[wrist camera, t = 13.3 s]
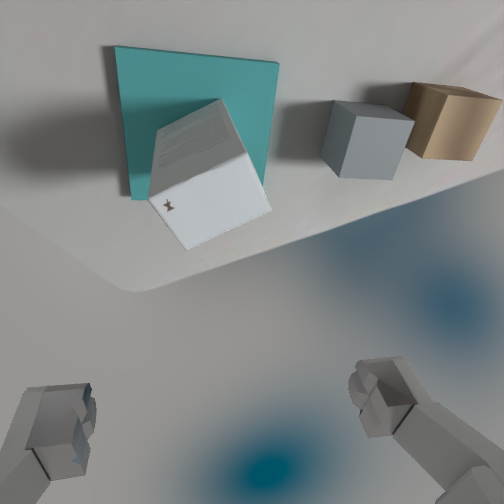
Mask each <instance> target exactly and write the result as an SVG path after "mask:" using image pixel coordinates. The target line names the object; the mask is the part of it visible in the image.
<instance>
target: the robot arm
mask: <svg viewBox="0 0 504 504" xmlns="http://www.w3.org/2000/svg"><path fill="white" fill-rule="evenodd" d="M355 368H356V370H357V371H356V372H354V373H353V374H351V376H350V379H349V381H348V382H349V393H350V397H351V399H352V402H353V404H354V405H355V406H357V407H358V408H359V409H360V415H359V418H360V421H361V423H362V425H363V427H364V430H365V432H366V434H367V437H368V438H370V437H380V436H390V435H393V438H394V439H395V440H396V441H397V442H398V443H399V444H400V445H401V446H402V447H403V448H404V449H405V450H406V451H407V452H408V453H409V454H410V455H411V456H412V457H413V458H414V459H415V460H416V461H417V462H418V463H419V464H420V465H421V466H422V467H423V469H425V470H426V471H427V473H428V474H429V475H430V476H431V477H432V478H433V479H434V480H435V481H436V482H437V483H438V484H439V485H440V486H441V487H442V488H443V489H444V490H445V492H444V493H443V494H442V495H441V496H440V497H439V498H438V499H437V500H436V502H435V504H504V451H503V450H502V449H501V448H499V447H498V446H497V445H495V444H494V443H493V442H491V441H490V440H488V439H487V438H486V437H484V436H483V435H482V434H480V433H479V432H478V431H476V430H475V429H474V428H472V427H471V426H470V425H468V424H467V423H465V422H464V421H463V420H461V419H460V418H459V417H457V416H456V415H455V414H453V413H452V412H451V411H449V410H448V409H446V408H445V407H444V406H442V405H441V404H440V403H438V402H436V403H434V402H433V400H432V399H431V397H430V396H429V394H428V392H427V391H426V389H425V388H424V386H423V385H422V383H421V381H420V380H419V378H418V377H417V375H416V373H415V372H414V370H413V369H412V367H411V366H410V364H409V362H408V361H407V360H406V359H405V358H404V357H400V356H399V357H389V358H387V357H385V358H375V359H365V360H360V361H358V362H357V363H356V366H355ZM91 391H92V388H91V386H90V383H81V384H68V385H56V386H41V387H29V388H27V389H26V391H25V392H24V393H23V395H22V398H21V400H20V403H19V405H18V408H17V410H16V413H15V415H14V418H13V420H12V423H11V425H10V428H9V430H8V433H7V436H6V438H5V441H4V443H3V446H2V448H1V451H0V504H36V502H37V501H38V500H39V498H40V497H41V496H42V494H43V493H44V492H45V490H46V489H47V487H48V486H49V485H50V481H54V480H60V479H66V478H72V477H78V476H84V475H85V474H86V468H87V463H88V459H89V453H90V447H89V444H88V441H87V440H88V438H89V437H90V436H91V435H92V434H93V432H94V428H95V422H96V402H95V399H94V398H93V397H91Z"/></svg>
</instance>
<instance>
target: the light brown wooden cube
mask: <svg viewBox="0 0 504 504" xmlns="http://www.w3.org/2000/svg"><path fill="white" fill-rule="evenodd" d="M502 101H503V100H500V99H497V98H494V97H491V96H488V95H485V94H482V93H479V92H476V91H473V90H469V89H466V88H463V87H455V86H446V85H436V84H426V83H417V82H413V85H412V88H411V91H410V94H409V97H408V99H407V102H406V105H405V108H404V111H403V113H402V114H403V115H405V116H406V117H408V118H410V119H412V120H414V121H415V122H414V125H413V128H412V130H411V133H410V135H409V138H408V140H407V143H406V146H405V147H406V148H407V149H409V150H410V151H412V152H413V153H415V154H416V155H418V156H419V157H421V158H424V159H443V160H462V161H472V160H473V158H474V156H475V154H476V153H477V151H478V149H479V147H480V145H481V143H482V141H483V139H484V137H485V135H486V133H487V131H488V129H489V127H490V125H491V123H492V121H493V119H494V117H495V115H496V113H497V111H498V109H499V107H500V105H501V103H502Z"/></svg>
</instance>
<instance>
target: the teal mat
mask: <svg viewBox="0 0 504 504" xmlns="http://www.w3.org/2000/svg"><path fill="white" fill-rule="evenodd" d="M115 55H116V64H117V73H118V82H119V91H120V100H121V109H122V119H123V128H124V137H125V146H126V155H127V164H128V173H129V182H130V191H131V200H148V192H149V186H150V178H151V171H152V163H153V156H154V149H155V141H156V134H157V130H159V129H161V128H163V127H165V126H167V125H169V124H171V123H173V122H175V121H177V120H179V119H181V118H183V117H185V116H187V115H189V114H190V113H193V112H195V111H197V110H199V109H201V108H203V107H205V106H207V105H209V104H211V103H213V102H215V101H217V100H218V99H222V100H223V101H224V103H225V105H226V108H227V110H228V112H229V114H230V117H231V119H232V121H233V123H234V125H235V128H236V130H237V132H238V134H239V136H240V138H241V141H242V143H243V145H244V147H245V149H246V151H247V153H248V155H249V157H250V159H251V161H252V164H253V166H254V168H255V170H256V173H257V175H258V177H259V180H260V182H261V184H262V187H263V180H264V173H265V166H266V158H267V151H268V144H269V137H270V129H271V122H272V115H273V108H274V100H275V93H276V86H277V79H278V71H279V63H278V62H273V61H263V60H253V59H244V58H234V57H224V56H214V55H204V54H195V53H185V52H175V51H165V50H156V49H146V48H136V47H126V46H116V47H115Z"/></svg>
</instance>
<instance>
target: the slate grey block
mask: <svg viewBox="0 0 504 504" xmlns="http://www.w3.org/2000/svg"><path fill="white" fill-rule="evenodd" d="M414 122H415V121H414V120H412V119H410V118H408V117H406V116H405V115H403V114H401V113H399V112H397V111H395V110H393V109H392V108H390V107H388V106H386V105H379V104H368V103H358V102H347V101H337V100H334V101H333V105H332V109H331V113H330V117H329V121H328V125H327V130H326V134H325V138H324V142H323V146H322V150H321V154H320V156H321V157H322V159H323V160H324V161H325V162H326V163H327V164H328V166H329V167H330V168H331V169H332V170H333V171H334V172H335V174H336V175H337V176H338V177H339V178H357V179H379V180H392V179H393V177H394V174H395V171H396V169H397V166H398V164H399V161H400V159H401V156H402V153H403V151H404V148H405V146H406V143H407V140H408V138H409V135H410V133H411V130H412V128H413V125H414Z"/></svg>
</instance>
